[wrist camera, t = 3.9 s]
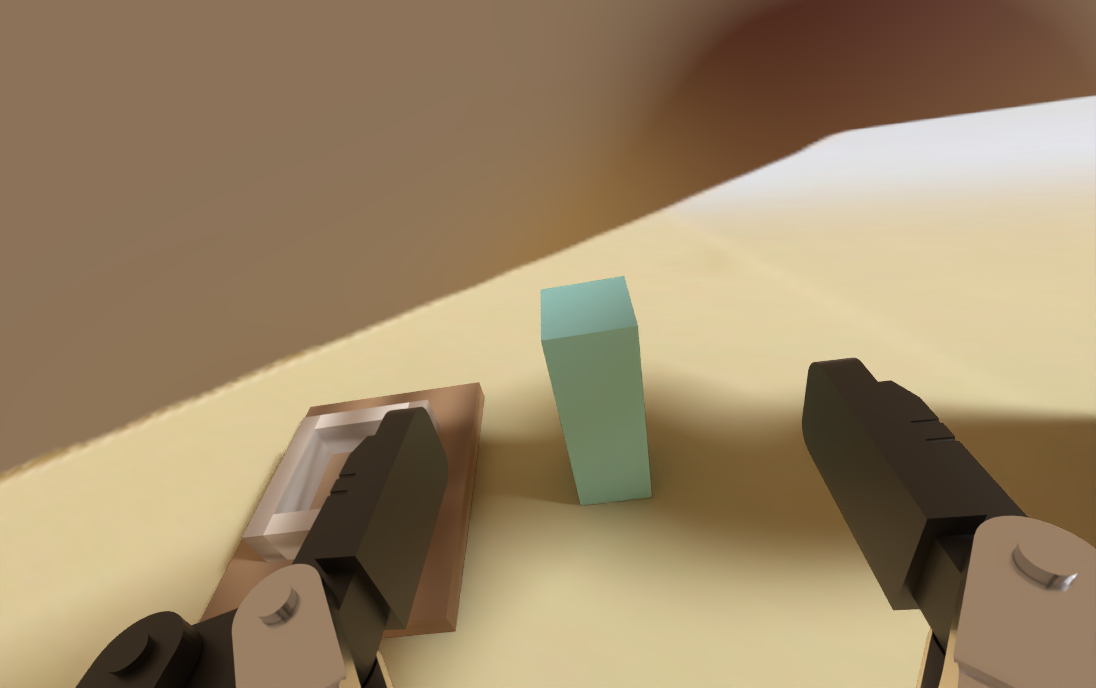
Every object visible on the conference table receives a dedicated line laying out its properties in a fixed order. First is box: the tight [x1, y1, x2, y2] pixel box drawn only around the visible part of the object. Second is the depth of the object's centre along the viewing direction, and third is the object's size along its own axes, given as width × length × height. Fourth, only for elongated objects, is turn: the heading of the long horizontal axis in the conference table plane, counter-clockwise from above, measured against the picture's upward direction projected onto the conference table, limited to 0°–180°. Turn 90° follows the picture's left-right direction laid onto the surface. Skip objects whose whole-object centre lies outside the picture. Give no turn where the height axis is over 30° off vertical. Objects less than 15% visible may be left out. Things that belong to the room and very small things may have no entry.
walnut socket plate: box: [200, 382, 484, 638], centre depth 29 cm, size 13×16×4 cm
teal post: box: [541, 276, 652, 506], centre depth 25 cm, size 4×4×12 cm
